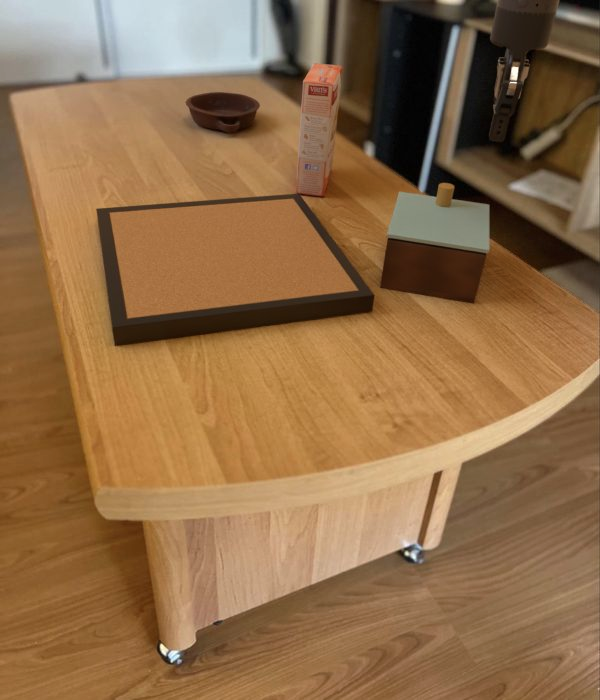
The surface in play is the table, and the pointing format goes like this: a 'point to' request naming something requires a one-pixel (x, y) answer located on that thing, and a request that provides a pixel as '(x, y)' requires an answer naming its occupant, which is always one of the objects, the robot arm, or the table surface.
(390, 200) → the table surface
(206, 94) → the dish
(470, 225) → the glass top
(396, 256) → the case
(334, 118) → the cracker box
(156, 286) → the cork board
